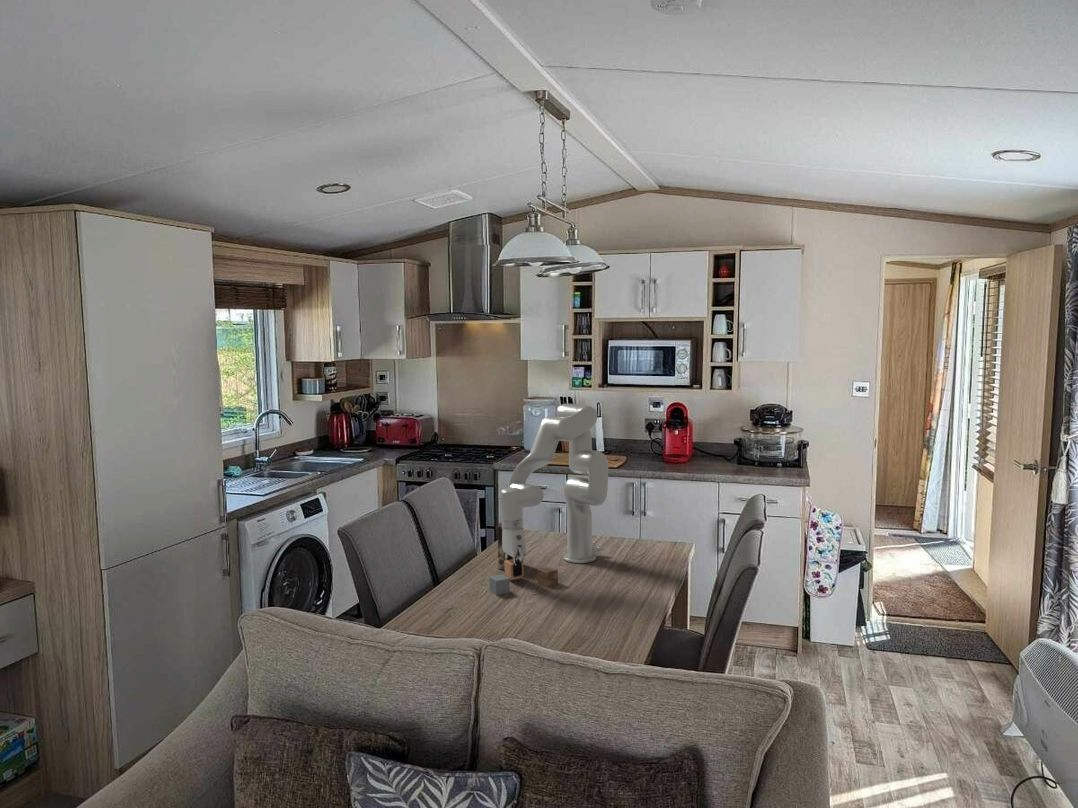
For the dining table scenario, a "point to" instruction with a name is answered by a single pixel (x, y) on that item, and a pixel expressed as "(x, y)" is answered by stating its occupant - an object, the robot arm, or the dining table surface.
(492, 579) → the slate block
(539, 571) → the walnut block
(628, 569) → the dining table surface
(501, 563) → the coffee box
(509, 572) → the rust block
